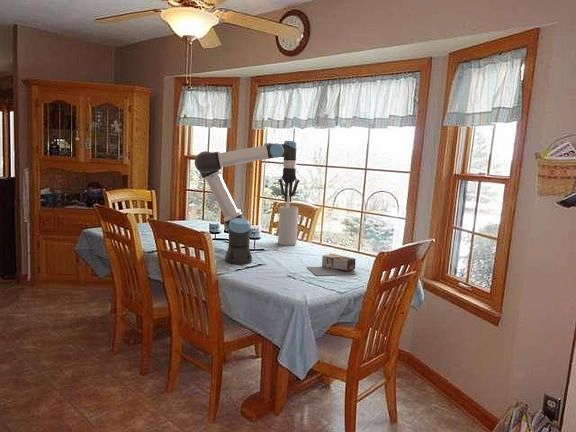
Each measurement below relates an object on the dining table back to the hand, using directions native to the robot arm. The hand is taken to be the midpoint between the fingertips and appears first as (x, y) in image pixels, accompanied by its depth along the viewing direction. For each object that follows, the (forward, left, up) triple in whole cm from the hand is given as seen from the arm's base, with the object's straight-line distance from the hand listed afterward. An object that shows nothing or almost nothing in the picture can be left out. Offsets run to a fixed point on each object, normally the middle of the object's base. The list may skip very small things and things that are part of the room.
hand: (287, 207), depth 263 cm
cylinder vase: (+10, +32, -30) cm, 45 cm away
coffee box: (+17, -24, -26) cm, 39 cm away
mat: (+16, -35, -29) cm, 48 cm away
